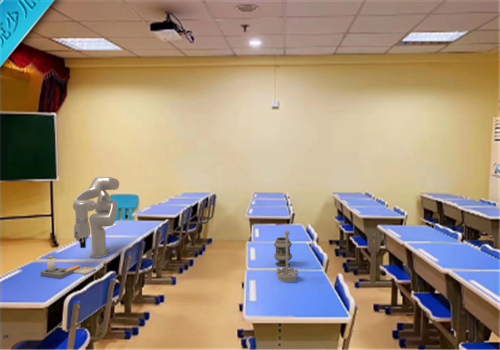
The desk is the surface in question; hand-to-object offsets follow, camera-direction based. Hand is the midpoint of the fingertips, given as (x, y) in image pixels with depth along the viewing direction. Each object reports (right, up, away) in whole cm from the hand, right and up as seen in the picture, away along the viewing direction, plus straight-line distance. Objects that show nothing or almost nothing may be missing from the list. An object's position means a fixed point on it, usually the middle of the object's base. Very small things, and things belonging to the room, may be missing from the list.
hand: (83, 247), depth 249 cm
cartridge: (-14, -14, -12) cm, 24 cm away
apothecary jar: (+134, -12, +4) cm, 135 cm away
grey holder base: (-10, -15, -14) cm, 23 cm away
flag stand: (+134, -15, -23) cm, 137 cm away
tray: (+5, -14, -8) cm, 17 cm away
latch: (-3, -14, -8) cm, 16 cm away
